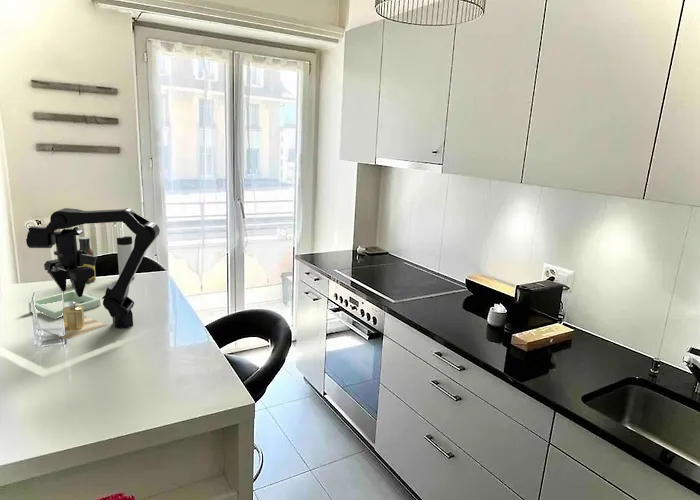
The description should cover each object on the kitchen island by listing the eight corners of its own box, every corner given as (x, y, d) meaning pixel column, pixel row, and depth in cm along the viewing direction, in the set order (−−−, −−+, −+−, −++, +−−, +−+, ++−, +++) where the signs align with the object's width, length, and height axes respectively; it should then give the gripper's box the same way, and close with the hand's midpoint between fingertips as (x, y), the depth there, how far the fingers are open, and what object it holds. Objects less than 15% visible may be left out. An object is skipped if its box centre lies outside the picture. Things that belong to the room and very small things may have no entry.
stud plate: (107, 328, 154) (106, 313, 153) (66, 343, 142) (64, 327, 141) (83, 319, 160) (81, 304, 159) (41, 332, 148) (39, 317, 147)
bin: (100, 309, 170) (100, 299, 169) (55, 323, 156) (54, 312, 155) (74, 299, 178) (73, 290, 177) (29, 312, 163) (28, 302, 162)
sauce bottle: (80, 279, 200) (76, 236, 195) (96, 278, 203) (93, 235, 198) (78, 284, 194) (74, 239, 190) (95, 283, 197) (91, 238, 192)
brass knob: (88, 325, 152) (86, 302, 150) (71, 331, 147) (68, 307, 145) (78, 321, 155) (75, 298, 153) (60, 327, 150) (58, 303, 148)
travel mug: (124, 282, 200) (121, 238, 195) (116, 278, 204) (113, 235, 199) (137, 279, 205) (135, 236, 200) (130, 276, 209) (127, 234, 204)
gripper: (108, 248, 147) (112, 293, 151) (75, 239, 156) (79, 282, 160) (74, 254, 138) (79, 302, 142) (40, 245, 147) (46, 290, 151)
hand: (71, 293), depth 149 cm, fingers open, 9 cm apart
